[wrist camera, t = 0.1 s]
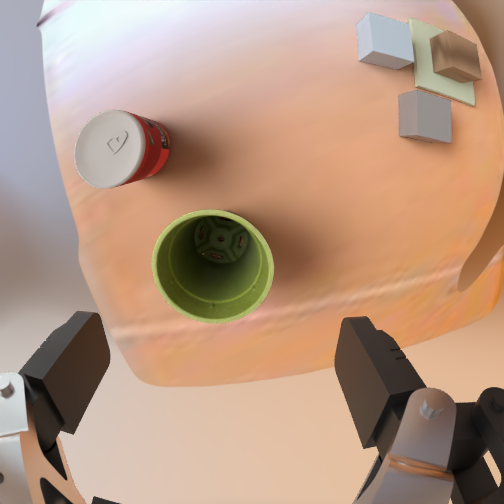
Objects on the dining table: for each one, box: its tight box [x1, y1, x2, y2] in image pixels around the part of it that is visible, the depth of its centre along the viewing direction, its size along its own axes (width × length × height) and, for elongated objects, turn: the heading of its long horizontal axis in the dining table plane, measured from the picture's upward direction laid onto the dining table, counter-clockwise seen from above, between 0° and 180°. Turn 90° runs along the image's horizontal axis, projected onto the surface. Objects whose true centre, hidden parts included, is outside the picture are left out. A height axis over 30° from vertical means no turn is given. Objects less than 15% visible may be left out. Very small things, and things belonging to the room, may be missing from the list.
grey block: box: [398, 90, 452, 143], centre depth 31 cm, size 6×6×5 cm
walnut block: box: [429, 30, 482, 83], centre depth 26 cm, size 6×6×5 cm
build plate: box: [408, 18, 475, 106], centre depth 29 cm, size 12×12×1 cm
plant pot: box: [152, 209, 274, 324], centre depth 33 cm, size 12×12×11 cm
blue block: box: [356, 13, 414, 70], centre depth 27 cm, size 6×6×5 cm
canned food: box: [74, 110, 170, 189], centre depth 29 cm, size 8×8×11 cm
